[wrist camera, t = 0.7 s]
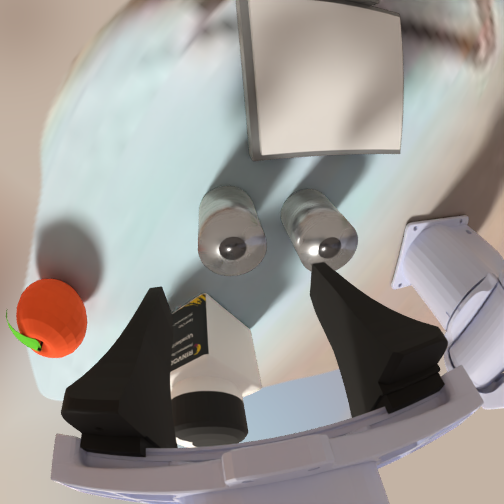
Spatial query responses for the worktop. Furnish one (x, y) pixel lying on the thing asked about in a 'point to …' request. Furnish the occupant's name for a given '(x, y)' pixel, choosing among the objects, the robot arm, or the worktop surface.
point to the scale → (321, 77)
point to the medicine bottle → (210, 374)
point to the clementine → (51, 318)
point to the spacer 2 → (318, 229)
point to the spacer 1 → (230, 232)
